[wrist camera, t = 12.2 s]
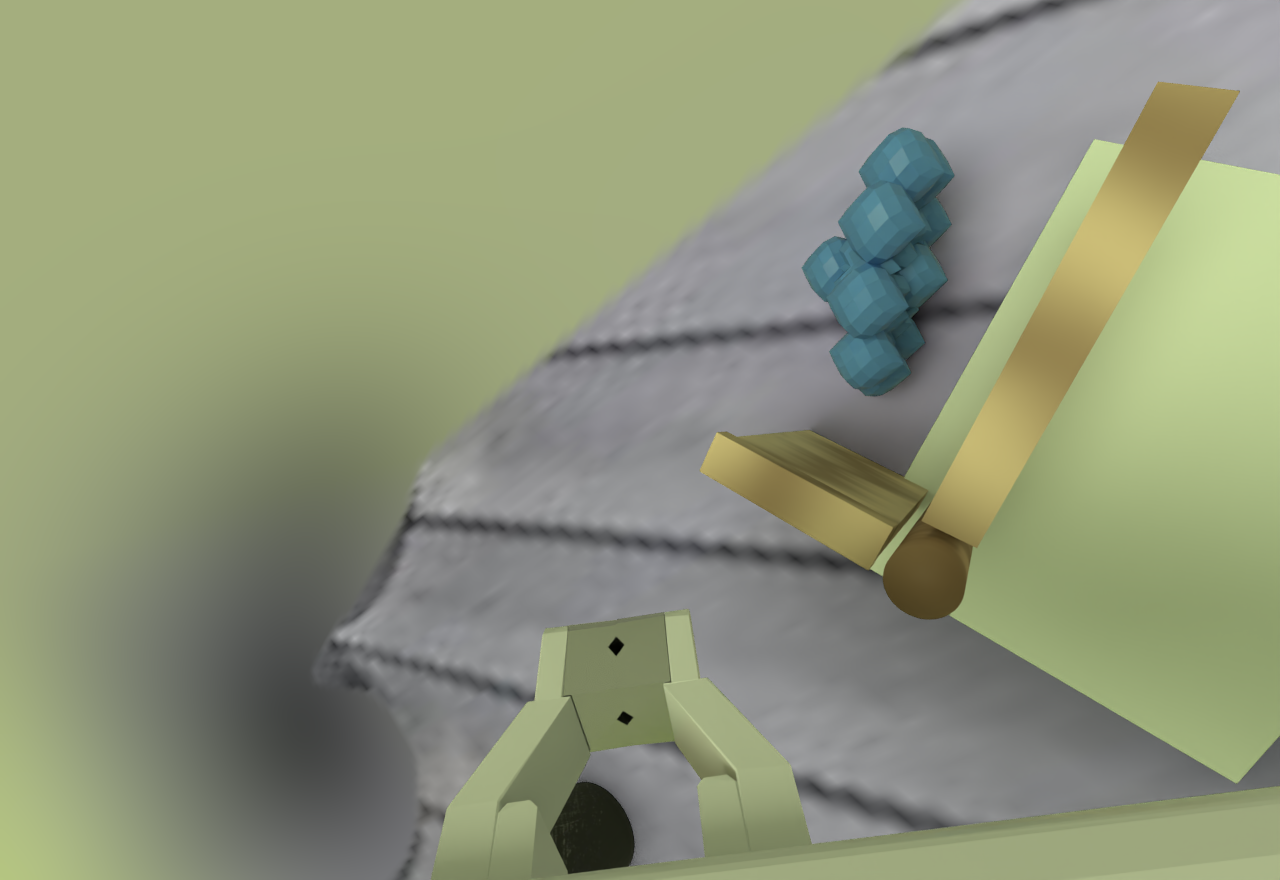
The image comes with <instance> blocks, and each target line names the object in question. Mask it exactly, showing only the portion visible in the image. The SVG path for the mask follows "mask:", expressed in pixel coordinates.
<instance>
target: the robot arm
mask: <svg viewBox="0 0 1280 880" xmlns="http://www.w3.org/2000/svg"><path fill="white" fill-rule="evenodd" d="M670 741H675V743H676V745H677V746H678V748H679V749H680V750H681V752H682V753H683V755H684V756H685V757H686V759H687V760H688V762H689V763H690V764H691V766H692V767H693V769H694V770H695V771H696V773H697V774H698V776H699V777H700V778H701V782H700V783H699V785H698V786H697V789H698V798H699V807H700V816H701V825H702V834H703V842H704V851H705V857H703V858H695V859H687V860H679V861H670V862H662V863H654V864H646V865H638V866H630V867H622V868H614V869H606V870H598V871H590V872H581V873H573V874H568V871H567V869H566V867H565V865H564V862H563V860H562V858H561V856H560V854H559V852H558V850H557V848H556V845H555V843H554V841H553V839H552V837H551V835H550V832H551V830H552V828H553V826H554V824H555V823H556V821H557V819H558V817H559V815H560V813H561V811H562V809H563V807H564V805H565V803H566V801H567V800H568V798H569V796H570V794H571V792H572V790H573V788H574V786H575V784H576V782H577V780H578V778H579V776H580V775H581V773H582V771H583V769H584V767H585V765H586V763H587V761H588V759H589V757H590V752H595V751H601V750H607V749H613V748H619V747H626V746H632V745H641V744H651V743H661V742H670ZM431 880H1280V786H1276V787H1268V788H1260V789H1252V790H1244V791H1236V792H1228V793H1220V794H1212V795H1204V796H1195V797H1187V798H1179V799H1171V800H1163V801H1155V802H1147V803H1139V804H1131V805H1123V806H1115V807H1107V808H1099V809H1091V810H1083V811H1075V812H1067V813H1059V814H1051V815H1043V816H1035V817H1027V818H1018V819H1010V820H1002V821H994V822H986V823H978V824H970V825H962V826H954V827H946V828H938V829H930V830H922V831H914V832H906V833H898V834H890V835H882V836H874V837H866V838H858V839H850V840H841V841H833V842H825V843H817V844H812V843H811V840H810V836H809V832H808V828H807V825H806V821H805V817H804V814H803V810H802V806H801V802H800V799H799V795H798V791H797V788H796V784H795V780H794V776H793V773H792V769H791V765H790V764H789V763H788V762H787V761H786V760H785V759H784V758H783V757H782V756H781V754H780V753H779V752H778V751H777V750H776V749H775V748H774V747H773V746H772V745H771V744H770V743H769V742H768V741H767V740H766V739H765V738H764V737H763V736H762V734H761V733H760V732H759V731H758V730H757V729H756V728H755V727H754V726H753V725H752V724H751V723H750V722H749V721H748V720H747V719H746V718H745V717H744V716H743V714H742V713H741V712H740V711H739V710H738V709H737V708H736V707H735V706H734V705H733V704H732V703H731V702H730V701H729V700H728V699H727V698H726V697H725V696H724V694H723V693H722V692H721V691H720V690H719V689H718V688H717V687H716V686H715V685H714V684H713V683H712V682H711V681H710V680H709V679H708V678H700V674H699V667H698V661H697V654H696V648H695V642H694V635H693V629H692V622H691V616H690V611H689V609H684V610H677V611H670V612H665V614H664V612H661V613H655V614H648V615H642V616H635V617H628V618H622V619H617V620H613V621H604V622H595V623H587V624H578V625H570V626H563V627H555V628H546V629H545V631H544V633H543V636H542V644H541V652H540V660H539V668H538V677H537V685H536V693H535V701H531V702H527V703H526V705H525V706H524V707H523V708H522V710H521V711H520V712H519V714H518V715H517V716H516V718H515V719H514V720H513V722H512V723H511V724H510V726H509V727H508V728H507V730H506V731H505V732H504V734H503V735H502V736H501V738H500V739H499V740H498V742H497V743H496V744H495V746H494V747H493V748H492V749H491V751H490V752H489V753H488V755H487V756H486V757H485V759H484V760H483V761H482V763H481V764H480V765H479V767H478V768H477V769H476V771H475V772H474V773H473V775H472V776H471V777H470V779H469V780H468V781H467V783H466V784H465V785H464V787H463V788H462V789H461V790H460V792H459V793H458V794H457V796H456V797H455V798H454V800H453V801H452V802H451V804H450V805H449V806H448V808H447V811H446V815H445V820H444V824H443V829H442V833H441V837H440V842H439V846H438V850H437V855H436V859H435V864H434V868H433V872H432V877H431Z"/></svg>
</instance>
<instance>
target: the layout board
mask: <svg viewBox="0 0 1280 880" xmlns="http://www.w3.org/2000/svg"><path fill="white" fill-rule="evenodd" d="M1123 146H1124V145H1121V144H1116V143H1110V142H1105V141H1100V140H1095V139H1094V141H1093V142H1092V144H1091V146H1090V148H1089V150H1088V151H1087V153H1086V155H1085V157H1084V158H1083V160H1082V162H1081V164H1080V166H1079V167H1078V169H1077V171H1076V173H1075V174H1074V176H1073V178H1072V180H1071V182H1070V183H1069V185H1068V187H1067V189H1066V190H1065V192H1064V194H1063V196H1062V198H1061V199H1060V201H1059V203H1058V205H1057V206H1056V208H1055V210H1054V212H1053V214H1052V215H1051V217H1050V219H1049V221H1048V222H1047V224H1046V226H1045V228H1044V230H1043V231H1042V233H1041V235H1040V237H1039V238H1038V240H1037V242H1036V244H1035V246H1034V247H1033V249H1032V251H1031V253H1030V254H1029V256H1028V258H1027V260H1026V262H1025V263H1024V265H1023V267H1022V269H1021V270H1020V272H1019V274H1018V276H1017V278H1016V279H1015V281H1014V283H1013V285H1012V286H1011V288H1010V290H1009V292H1008V294H1007V295H1006V297H1005V299H1004V301H1003V302H1002V304H1001V306H1000V308H999V310H998V311H997V313H996V315H995V317H994V318H993V320H992V322H991V324H990V326H989V327H988V329H987V331H986V333H985V334H984V336H983V338H982V340H981V342H980V343H979V345H978V347H977V349H976V350H975V352H974V354H973V356H972V358H971V359H970V361H969V363H968V365H967V366H966V368H965V370H964V372H963V374H962V375H961V377H960V379H959V381H958V382H957V384H956V386H955V388H954V390H953V391H952V393H951V395H950V397H949V398H948V400H947V402H946V404H945V406H944V407H943V409H942V411H941V413H940V414H939V416H938V418H937V420H936V422H935V423H934V425H933V427H932V429H931V430H930V432H929V434H928V436H927V438H926V439H925V441H924V443H923V445H922V446H921V448H920V450H919V452H918V454H917V455H916V457H915V459H914V461H913V462H912V464H911V466H910V468H909V470H908V471H907V473H906V475H905V477H904V478H905V479H907V480H909V481H911V482H913V483H915V484H917V485H919V486H921V487H923V488H925V489H927V490H928V492H927V494H926V496H925V497H924V499H923V501H922V503H921V504H920V506H919V508H918V509H917V511H916V512H915V513H914V514H913V515H912V517H911V518H910V519H909V520H908V521H907V523H906V524H905V525H904V526H903V527H902V529H901V530H900V531H899V532H898V533H897V535H896V536H895V537H894V538H893V540H892V541H891V542H890V543H889V544H888V546H887V547H886V548H885V549H884V550H883V552H882V553H881V554H880V555H879V556H878V558H877V559H876V561H875V563H874V565H873V566H872V567H871V568H870V569H871V570H873V571H875V572H876V573H878V574H880V575H881V576H883V571H884V568H885V565H886V563H887V561H888V560H889V558H890V557H891V556H892V554H893V553H894V552H895V550H896V549H897V547H898V546H899V545H900V543H901V542H902V541H903V539H904V538H905V537H906V535H907V534H908V533H909V531H910V530H911V529H912V527H913V526H914V525H915V523H916V522H917V521H918V519H919V518H920V516H921V515H922V514H923V512H924V511H925V510H926V508H927V507H928V506H929V504H930V503H931V502H932V500H933V498H934V496H935V495H936V493H937V491H938V489H939V487H940V485H941V483H942V482H943V480H944V478H945V476H946V474H947V472H948V470H949V469H950V467H951V465H952V463H953V461H954V459H955V457H956V456H957V454H958V452H959V450H960V448H961V446H962V444H963V443H964V441H965V439H966V437H967V435H968V433H969V431H970V430H971V428H972V426H973V424H974V422H975V420H976V418H977V417H978V415H979V413H980V411H981V409H982V407H983V405H984V404H985V402H986V400H987V398H988V396H989V394H990V393H991V391H992V389H993V387H994V385H995V383H996V381H997V380H998V378H999V376H1000V374H1001V372H1002V370H1003V368H1004V367H1005V365H1006V363H1007V361H1008V359H1009V357H1010V355H1011V354H1012V352H1013V350H1014V348H1015V346H1016V344H1017V342H1018V341H1019V339H1020V337H1021V335H1022V333H1023V331H1024V329H1025V328H1026V326H1027V324H1028V322H1029V320H1030V318H1031V316H1032V315H1033V313H1034V311H1035V309H1036V307H1037V305H1038V303H1039V302H1040V300H1041V298H1042V296H1043V294H1044V292H1045V290H1046V289H1047V287H1048V285H1049V283H1050V281H1051V279H1052V277H1053V276H1054V274H1055V272H1056V270H1057V268H1058V266H1059V265H1060V263H1061V261H1062V259H1063V257H1064V255H1065V253H1066V252H1067V250H1068V248H1069V246H1070V244H1071V242H1072V240H1073V239H1074V237H1075V235H1076V233H1077V231H1078V229H1079V227H1080V226H1081V224H1082V222H1083V220H1084V218H1085V216H1086V214H1087V213H1088V211H1089V209H1090V207H1091V205H1092V203H1093V201H1094V200H1095V198H1096V196H1097V194H1098V192H1099V190H1100V188H1101V187H1102V185H1103V183H1104V181H1105V179H1106V177H1107V175H1108V174H1109V172H1110V170H1111V168H1112V166H1113V164H1114V162H1115V161H1116V159H1117V157H1118V155H1119V153H1120V151H1121V150H1122V148H1123ZM949 615H950V616H951V617H953V618H955V619H956V620H958V621H960V622H962V623H963V624H965V625H967V626H968V627H970V628H972V629H974V630H975V631H977V632H979V633H980V634H982V635H984V636H985V637H987V638H989V639H991V640H992V641H994V642H996V643H997V644H999V645H1001V646H1003V647H1004V648H1006V649H1008V650H1009V651H1011V652H1013V653H1014V654H1016V655H1018V656H1020V657H1021V658H1023V659H1025V660H1026V661H1028V662H1030V663H1032V664H1033V665H1035V666H1037V667H1038V668H1040V669H1042V670H1043V671H1045V672H1047V673H1049V674H1050V675H1052V676H1054V677H1055V678H1057V679H1059V680H1061V681H1062V682H1064V683H1066V684H1067V685H1069V686H1071V687H1072V688H1074V689H1076V690H1078V691H1079V692H1081V693H1083V694H1084V695H1086V696H1088V697H1090V698H1091V699H1093V700H1095V701H1096V702H1098V703H1100V704H1101V705H1103V706H1105V707H1107V708H1108V709H1110V710H1112V711H1113V712H1115V713H1117V714H1119V715H1120V716H1122V717H1124V718H1125V719H1127V720H1129V721H1130V722H1132V723H1134V724H1136V725H1137V726H1139V727H1141V728H1142V729H1144V730H1146V731H1148V732H1149V733H1151V734H1153V735H1154V736H1156V737H1158V738H1159V739H1161V740H1163V741H1165V742H1166V743H1168V744H1170V745H1171V746H1173V747H1175V748H1177V749H1178V750H1180V751H1182V752H1183V753H1185V754H1187V755H1188V756H1190V757H1192V758H1194V759H1195V760H1197V761H1199V762H1200V763H1202V764H1204V765H1206V766H1207V767H1209V768H1211V769H1212V770H1214V771H1216V772H1217V773H1219V774H1221V775H1223V776H1224V777H1226V778H1228V779H1229V780H1231V781H1233V782H1235V783H1236V784H1237V783H1238V782H1239V781H1240V780H1241V779H1242V777H1243V776H1244V775H1245V774H1246V773H1247V772H1248V771H1249V770H1250V768H1251V767H1252V766H1253V765H1254V764H1255V763H1256V762H1257V761H1258V759H1259V758H1260V757H1261V756H1262V755H1263V754H1264V753H1265V752H1266V750H1267V749H1268V748H1269V747H1270V746H1271V745H1272V744H1273V743H1274V741H1275V740H1276V739H1277V738H1278V737H1279V736H1280V175H1277V174H1272V173H1267V172H1262V171H1257V170H1251V169H1246V168H1241V167H1236V166H1230V165H1225V164H1220V163H1215V162H1210V161H1204V160H1200V162H1199V163H1198V165H1197V167H1196V169H1195V170H1194V172H1193V174H1192V176H1191V177H1190V179H1189V181H1188V182H1187V184H1186V186H1185V188H1184V189H1183V191H1182V193H1181V195H1180V196H1179V198H1178V200H1177V202H1176V203H1175V205H1174V207H1173V209H1172V210H1171V212H1170V214H1169V215H1168V217H1167V219H1166V221H1165V222H1164V224H1163V226H1162V228H1161V229H1160V231H1159V233H1158V235H1157V236H1156V238H1155V240H1154V242H1153V243H1152V245H1151V247H1150V248H1149V250H1148V252H1147V254H1146V255H1145V257H1144V259H1143V261H1142V262H1141V264H1140V266H1139V268H1138V269H1137V271H1136V273H1135V275H1134V276H1133V278H1132V280H1131V281H1130V283H1129V285H1128V287H1127V288H1126V290H1125V292H1124V294H1123V295H1122V297H1121V299H1120V301H1119V302H1118V304H1117V306H1116V308H1115V309H1114V311H1113V313H1112V314H1111V316H1110V318H1109V320H1108V321H1107V323H1106V325H1105V327H1104V328H1103V330H1102V332H1101V334H1100V335H1099V337H1098V339H1097V341H1096V342H1095V344H1094V346H1093V347H1092V349H1091V351H1090V353H1089V354H1088V356H1087V358H1086V360H1085V361H1084V363H1083V365H1082V367H1081V368H1080V370H1079V372H1078V374H1077V375H1076V377H1075V379H1074V380H1073V382H1072V384H1071V386H1070V387H1069V389H1068V391H1067V393H1066V394H1065V396H1064V398H1063V400H1062V401H1061V403H1060V405H1059V407H1058V408H1057V410H1056V412H1055V413H1054V415H1053V417H1052V419H1051V420H1050V422H1049V424H1048V426H1047V427H1046V429H1045V431H1044V433H1043V434H1042V436H1041V438H1040V440H1039V441H1038V443H1037V445H1036V446H1035V448H1034V450H1033V452H1032V453H1031V455H1030V457H1029V459H1028V460H1027V462H1026V464H1025V466H1024V467H1023V469H1022V471H1021V473H1020V474H1019V476H1018V478H1017V479H1016V481H1015V483H1014V485H1013V486H1012V488H1011V490H1010V492H1009V493H1008V495H1007V497H1006V499H1005V500H1004V502H1003V504H1002V506H1001V507H1000V509H999V511H998V512H997V514H996V516H995V518H994V519H993V521H992V523H991V525H990V526H989V528H988V530H987V532H986V533H985V535H984V537H983V539H982V540H981V542H980V544H979V545H978V547H977V548H976V547H974V546H973V549H972V555H971V560H970V566H969V571H968V577H967V582H966V588H965V593H964V597H963V600H962V602H961V604H960V605H959V606H958V608H957V609H956V610H955V611H953V612H952V613H951V614H949Z"/></svg>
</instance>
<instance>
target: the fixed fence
mask: <svg viewBox="0 0 1280 880" xmlns="http://www.w3.org/2000/svg"><path fill="white" fill-rule="evenodd" d="M700 472H702V473H703V474H705V475H707V476H709V477H710V478H712V479H714V480H715V481H717V482H719V483H720V484H722V485H724V486H726V487H727V488H729V489H731V490H732V491H734V492H736V493H737V494H739V495H741V496H743V497H744V498H746V499H748V500H749V501H751V502H753V503H754V504H756V505H758V506H760V507H761V508H763V509H765V510H766V511H768V512H770V513H771V514H773V515H775V516H777V517H778V518H780V519H782V520H783V521H785V522H787V523H788V524H790V525H792V526H794V527H795V528H797V529H799V530H800V531H802V532H804V533H805V534H807V535H809V536H811V537H812V538H814V539H816V540H817V541H819V542H821V543H822V544H824V545H826V546H827V547H829V548H831V549H833V550H834V551H836V552H838V553H839V554H841V555H843V556H844V557H846V558H848V559H850V560H851V561H853V562H855V563H856V564H858V565H860V566H861V567H863V568H865V569H867V570H868V571H869V569H870V568H871V567H872V566H873V565H874V563H875V561H876V559H877V558H878V556H879V555H880V554H881V553H882V552H883V550H884V549H885V548H886V547H887V546H888V544H889V543H890V542H891V541H892V540H893V538H894V537H895V536H896V535H897V533H898V532H899V531H900V530H901V529H902V527H903V526H904V525H905V524H906V523H907V521H908V520H909V519H910V518H911V517H912V515H913V514H914V513H915V512H916V511H917V509H918V508H919V506H920V504H921V503H922V501H923V499H924V497H925V496H926V494H927V492H928V490H927V489H925V488H923V487H921V486H919V485H917V484H915V483H913V482H911V481H909V480H907V479H905V478H904V477H903V476H901V475H899V474H897V473H895V472H893V471H891V470H889V469H887V468H885V467H883V466H881V465H879V464H877V463H875V462H873V461H871V460H869V459H867V458H865V457H863V456H861V455H859V454H857V453H855V452H853V451H851V450H849V449H847V448H845V447H843V446H841V445H839V444H837V443H834V442H832V441H830V440H828V439H826V438H824V437H822V436H820V435H818V434H816V433H814V432H812V431H810V430H805V431H794V432H783V433H772V434H762V435H751V436H740V437H736V436H734V435H732V434H730V433H728V432H717V433H716V435H715V438H714V440H713V442H712V444H711V447H710V449H709V451H708V453H707V455H706V458H705V460H704V462H703V464H702V467H701V469H700ZM930 504H931V503H930ZM930 504H929V506H930ZM929 506H928V507H927V508H926V510H925V511H924V512H923V514H922V515H921V516H920V518H919V519H918V521H917V522H916V523H915V525H914V526H913V527H912V529H911V530H910V531H909V533H908V534H907V535H906V537H905V538H904V539H903V541H902V542H901V543H900V545H899V546H898V547H897V549H896V550H895V552H894V553H893V554H892V556H891V557H890V558H889V560H888V561H887V563H886V565H885V568H884V571H883V584H884V588H885V590H886V593H887V595H888V597H889V598H890V600H891V601H892V602H893V603H894V604H895V605H896V606H897V607H898V608H899V609H900V610H902V611H903V612H905V613H907V614H909V615H911V616H913V617H916V618H921V619H938V618H942V617H945V616H947V615H949V614H951V613H952V612H953V611H955V610H956V609H957V608H958V606H959V605H960V604H961V602H962V600H963V597H964V593H965V588H966V582H967V577H968V571H969V566H970V560H971V555H972V549H973V546H971V545H969V544H967V543H965V542H963V541H961V540H959V539H957V538H955V537H953V536H951V535H949V534H947V533H945V532H943V531H941V530H939V529H937V528H935V527H933V526H931V525H929V524H926V523H924V522H922V521H921V520H922V519H923V517H924V515H925V513H926V511H927V509H928V508H929Z"/></svg>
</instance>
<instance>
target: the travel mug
mask: <svg viewBox="0 0 1280 880" xmlns="http://www.w3.org/2000/svg"><path fill="white" fill-rule="evenodd" d="M550 835H551V837H552V839H553V841H554V843H555V845H556V848H557V850H558V852H559V854H560V856H561V858H562V860H563V862H564V865H565V867H566V869H567V871H568V874H573V873H581V872H590V871H598V870H606V869H614V868H622V867H628V866H629V864H630V862H631V860H632V857H633V852H634V839H633V833H632V829H631V826H630V823H629V820H628V818H627V816H626V814H625V812H624V810H623V809H622V807H621V806H620V804H619V803H618V802H617V801H616V799H615V798H614V797H613V796H612V795H611V794H610V793H608V792H607V791H606V790H604V789H603V788H601V787H599V786H598V785H595V784H592V783H579V784H576V785H575V786H574V788H573V790H572V792H571V794H570V796H569V798H568V800H567V801H566V803H565V805H564V807H563V809H562V811H561V813H560V815H559V817H558V819H557V821H556V823H555V824H554V826H553V828H552V830H551V832H550Z"/></svg>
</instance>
